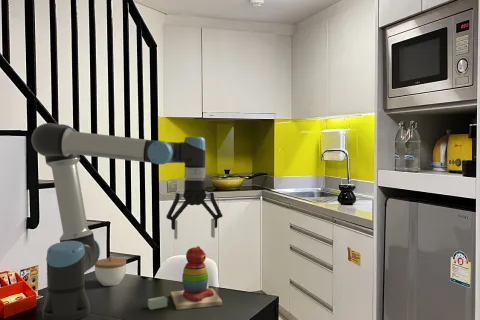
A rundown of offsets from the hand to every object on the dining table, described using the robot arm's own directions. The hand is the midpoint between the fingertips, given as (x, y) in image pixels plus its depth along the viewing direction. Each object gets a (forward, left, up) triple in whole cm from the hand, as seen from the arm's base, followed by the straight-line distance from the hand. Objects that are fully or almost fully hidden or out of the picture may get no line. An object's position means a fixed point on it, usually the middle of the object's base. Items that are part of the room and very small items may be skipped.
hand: (194, 237), depth 165 cm
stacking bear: (0, 0, -22) cm, 22 cm away
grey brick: (+4, +13, -23) cm, 27 cm away
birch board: (0, 0, -23) cm, 23 cm away
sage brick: (-14, -3, -23) cm, 27 cm away
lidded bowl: (-30, +31, -23) cm, 49 cm away
